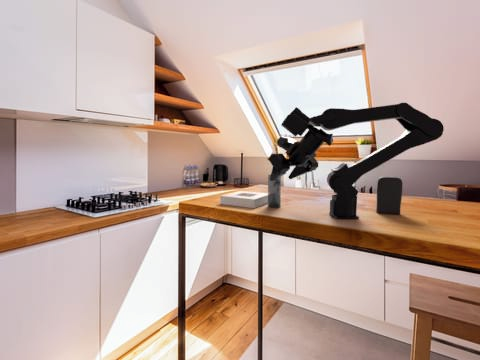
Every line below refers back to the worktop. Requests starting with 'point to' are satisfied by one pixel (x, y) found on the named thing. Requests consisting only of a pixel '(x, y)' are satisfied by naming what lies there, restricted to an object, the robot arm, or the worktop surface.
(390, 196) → the battery
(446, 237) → the worktop surface
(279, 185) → the translucent grey tall cylinder
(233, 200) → the hole block
